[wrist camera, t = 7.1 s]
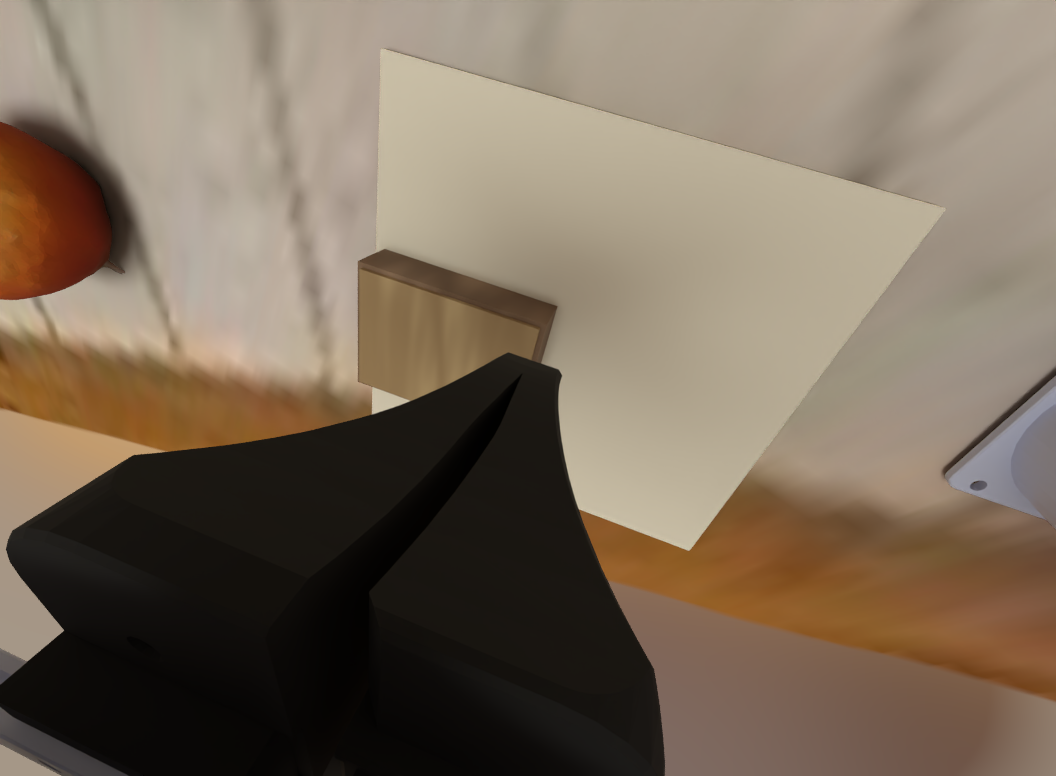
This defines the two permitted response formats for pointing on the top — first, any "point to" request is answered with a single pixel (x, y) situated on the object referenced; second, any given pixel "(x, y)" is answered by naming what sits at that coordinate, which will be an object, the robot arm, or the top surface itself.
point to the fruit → (47, 219)
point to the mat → (639, 275)
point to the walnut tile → (438, 324)
